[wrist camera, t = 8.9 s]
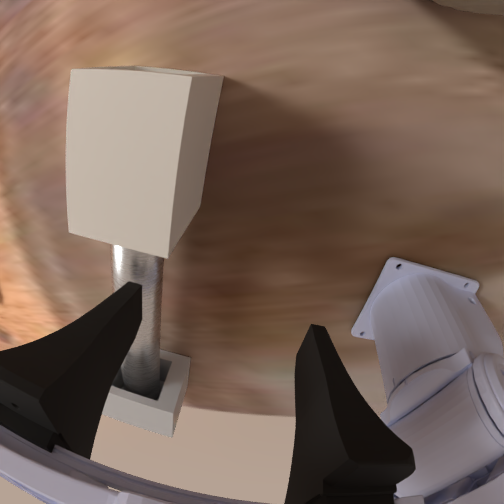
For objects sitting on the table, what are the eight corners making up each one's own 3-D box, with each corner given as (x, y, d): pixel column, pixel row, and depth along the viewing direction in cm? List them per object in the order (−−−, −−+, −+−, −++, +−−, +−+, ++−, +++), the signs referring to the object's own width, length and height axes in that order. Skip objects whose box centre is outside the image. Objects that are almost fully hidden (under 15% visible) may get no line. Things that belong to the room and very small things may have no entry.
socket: (190, 357, 31) (173, 413, 25) (187, 387, 33) (172, 437, 28) (116, 335, 30) (89, 385, 25) (120, 366, 33) (98, 412, 28)
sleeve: (224, 76, 18) (192, 76, 12) (200, 206, 22) (167, 258, 16) (132, 65, 17) (71, 69, 12) (120, 189, 22) (69, 232, 16)
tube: (180, 166, 19) (159, 186, 16) (164, 380, 30) (154, 408, 27) (128, 156, 19) (99, 174, 16) (131, 370, 30) (119, 397, 27)
